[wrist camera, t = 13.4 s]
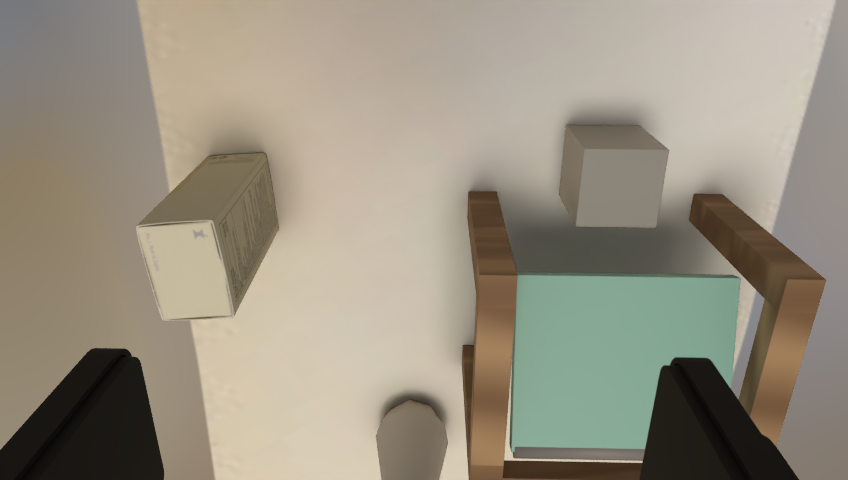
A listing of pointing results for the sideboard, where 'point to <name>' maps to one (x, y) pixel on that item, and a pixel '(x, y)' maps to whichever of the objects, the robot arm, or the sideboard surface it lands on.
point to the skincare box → (210, 237)
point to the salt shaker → (411, 443)
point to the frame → (494, 325)
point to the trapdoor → (608, 355)
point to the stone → (612, 176)
